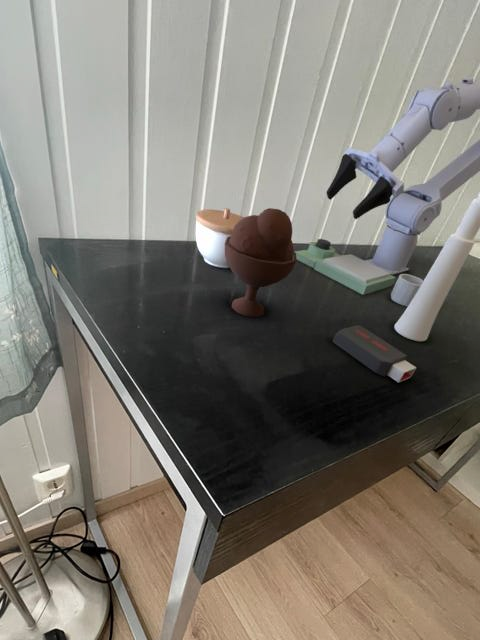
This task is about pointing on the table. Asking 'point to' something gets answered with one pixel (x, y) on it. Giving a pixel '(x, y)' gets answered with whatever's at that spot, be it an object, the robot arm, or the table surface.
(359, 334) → the usb drive
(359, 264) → the scale
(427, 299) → the cosmetic bottle
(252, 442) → the table surface
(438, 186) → the robot arm
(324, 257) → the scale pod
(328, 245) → the button
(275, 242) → the ice cream bowl
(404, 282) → the grey cup
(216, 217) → the trinket box
